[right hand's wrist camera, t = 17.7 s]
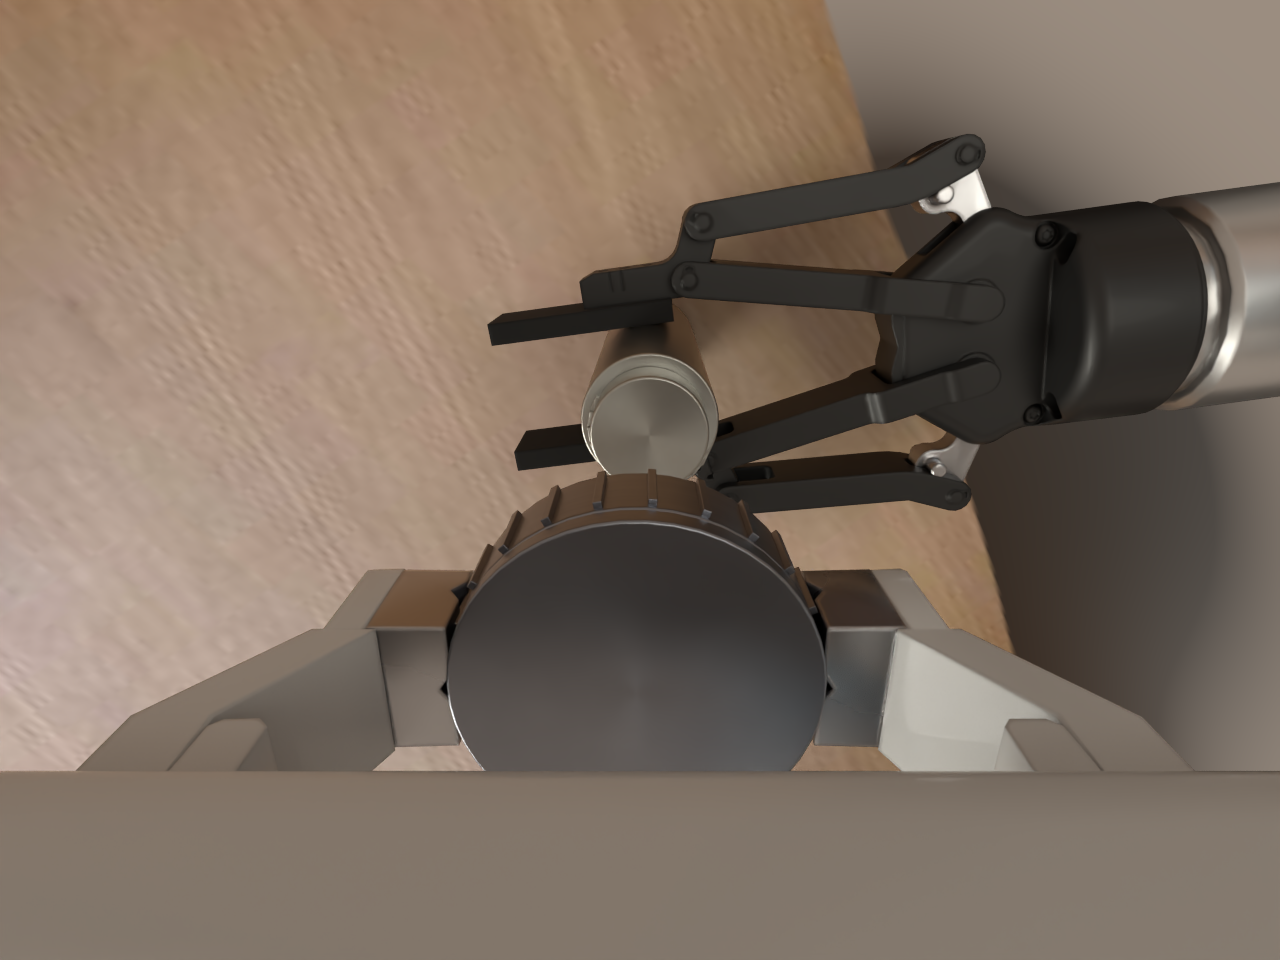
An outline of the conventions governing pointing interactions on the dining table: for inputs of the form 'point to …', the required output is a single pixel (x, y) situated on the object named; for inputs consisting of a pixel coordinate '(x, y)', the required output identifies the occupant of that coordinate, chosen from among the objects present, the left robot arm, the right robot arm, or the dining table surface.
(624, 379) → the jar
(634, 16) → the dining table surface
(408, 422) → the dining table surface
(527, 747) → the lid
